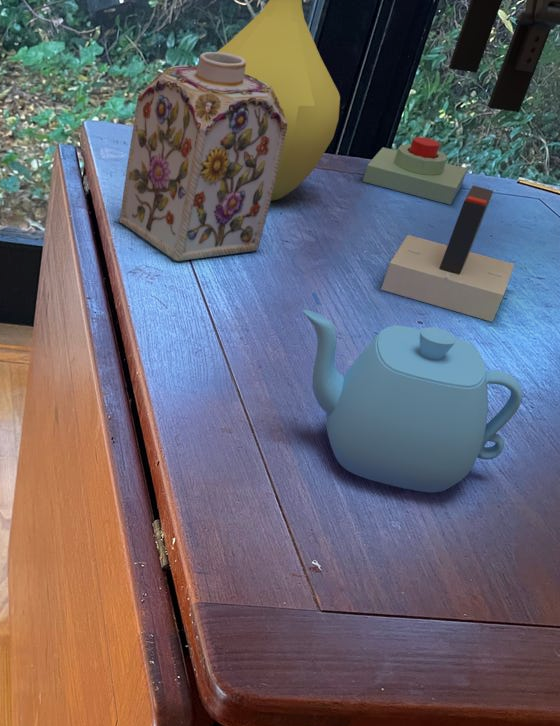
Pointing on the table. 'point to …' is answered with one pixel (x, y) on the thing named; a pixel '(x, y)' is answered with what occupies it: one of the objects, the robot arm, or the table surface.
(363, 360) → the teapot
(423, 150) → the power button
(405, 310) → the table surface
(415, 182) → the block
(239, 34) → the vase
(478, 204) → the dark grey block
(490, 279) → the beige flat block
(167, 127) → the decorative jar
